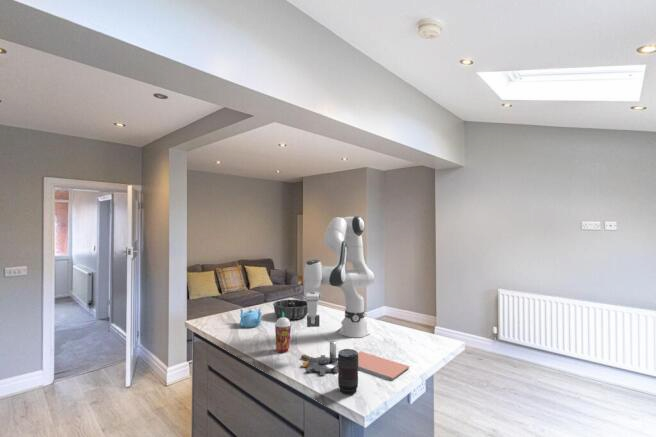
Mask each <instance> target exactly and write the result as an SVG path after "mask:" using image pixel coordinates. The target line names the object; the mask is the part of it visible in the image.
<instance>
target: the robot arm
mask: <svg viewBox="0 0 656 437" xmlns="http://www.w3.org/2000/svg"><path fill="white" fill-rule="evenodd" d="M365 225H366V224H365V221H364V219H363V217H361V216H357V215H356V216H345V217H340V216H339V217H338V216H337V217H334V218H332V219H331V221H330V222H329V224H328V226H327V228H326V231H325V233H324V236H323V237H324V238H323V242H324V244H325V246H326V247H328V248H329V249H330V250H332V251H334V252H336V253H337V259H336V264H335V265H323V264H322V262H321V260H318V259H311V260H307V261H306V262H305V265H304V271H303V272H304V273H303V279H304V286H303V287H304V288H303V289H304V291H303V298H305V301H307V309H308V314H307V315H308V316H309V317H311V323H312V324H314V323H315V317H316V315H318V308H319V307H318V304H319V302H320V299H321V298H322V297H323V286H331V287H338V288H340V290H341V291H342V293H343V294H344V297H345V298H344V300H345V310H344V318H343V320H341V328H340V330H339V331H338V334H339V335H342V336H345V337H348V338H355V339H356V338H363V337H366V336H369V335H371V333H370V331H369V330H368V321H367V319H366V317H365V315H366V314H365V298H364V297H363V295H361V294H360V293H358V290H357V289H358V288H366V287H369V286H372V285H373V284H374V282H375V275H374V273H373V271H372V270H371V269H370V268H369V267H368V265H367V264H366V260H365V257H364V244H363V237H362V234H363V233H364V231H365V228H366V226H365ZM347 263H348V264H351V266H352V269H347Z"/></svg>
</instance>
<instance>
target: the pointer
mask: <svg viewBox="0 0 656 437" xmlns="http://www.w3.org/2000/svg"><path fill="white" fill-rule="evenodd" d="M309 357H311V356H309V355H306V354H305V353H304V354H301V355H300V358H301V359H302V360H304V361H305V362H308V358H309Z"/></svg>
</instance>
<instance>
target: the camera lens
mask: <svg viewBox="0 0 656 437" xmlns="http://www.w3.org/2000/svg"><path fill="white" fill-rule="evenodd" d="M358 352H359V351H357V350H355V349H353V348H352V349H351V348H344V349H343V348H342V349H341V350H339V351H338V354H337V358H338V361H337V362H338V369H339V370H338V372H337V375H338V376H337V382H338V383H337V384H338V388H339V392H340V393H341V394H344V395H350V396H351V395H354V394H356V393H357V391H358V390H357V389H358V386H359V385H358V384H359V369H358Z"/></svg>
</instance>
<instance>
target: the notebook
mask: <svg viewBox="0 0 656 437" xmlns="http://www.w3.org/2000/svg"><path fill="white" fill-rule="evenodd" d="M357 352H358V371H360V372H364V373H366V374H369V375H372V376H375V377H378V378H380V379H383V380H386V381H387V380H388V381H392V382H393V381H394V380H395V379H396V378H398V377H400V376H401V375H402V374H403V373H405V372H406V371H408V370H409V368H410V365H407V364H403V363H401V362H397V361H394V360H390V359H387V358H383V357H380V356H376V355H373V354H371V353H367V352H364V351H357Z"/></svg>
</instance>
